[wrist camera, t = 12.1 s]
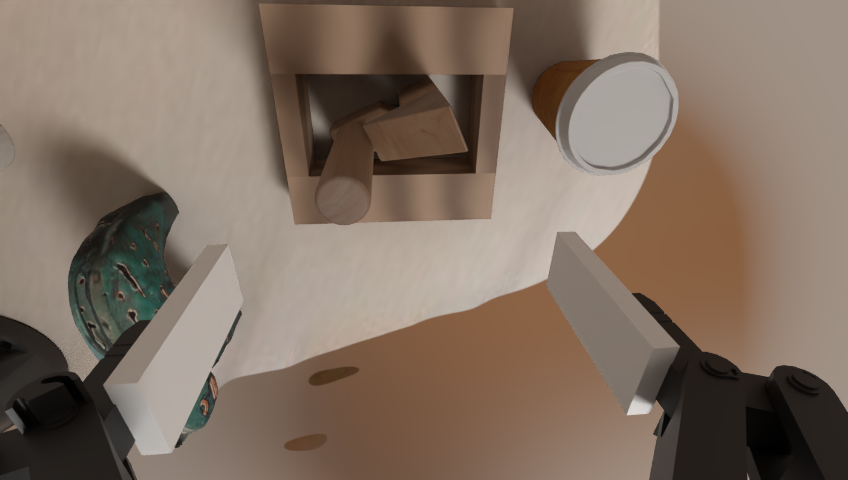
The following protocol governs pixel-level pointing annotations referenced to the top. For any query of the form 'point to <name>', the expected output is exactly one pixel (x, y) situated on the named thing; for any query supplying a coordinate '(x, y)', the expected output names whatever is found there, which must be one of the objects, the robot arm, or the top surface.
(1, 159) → the coffee cup
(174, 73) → the top surface
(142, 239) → the teal animal figurine
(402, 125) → the wooden post with wedge
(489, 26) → the walnut slotted base
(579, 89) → the disposable coffee cup
